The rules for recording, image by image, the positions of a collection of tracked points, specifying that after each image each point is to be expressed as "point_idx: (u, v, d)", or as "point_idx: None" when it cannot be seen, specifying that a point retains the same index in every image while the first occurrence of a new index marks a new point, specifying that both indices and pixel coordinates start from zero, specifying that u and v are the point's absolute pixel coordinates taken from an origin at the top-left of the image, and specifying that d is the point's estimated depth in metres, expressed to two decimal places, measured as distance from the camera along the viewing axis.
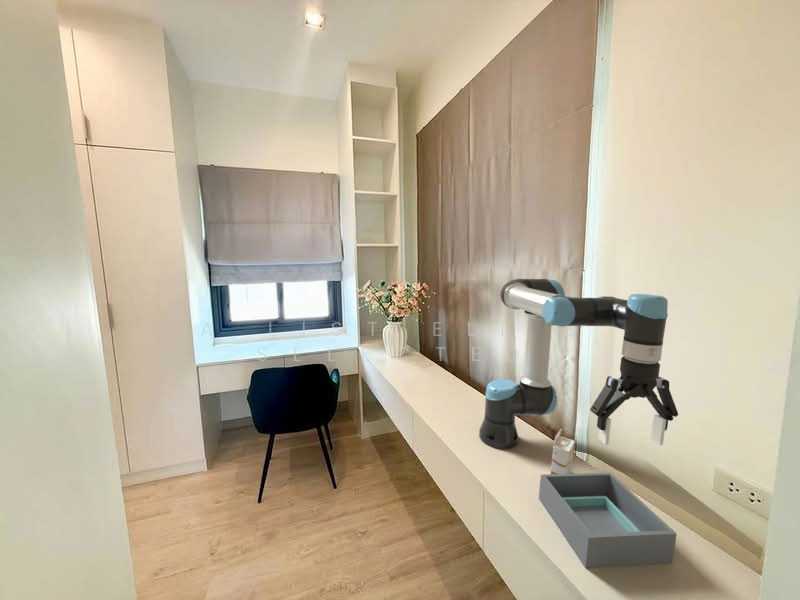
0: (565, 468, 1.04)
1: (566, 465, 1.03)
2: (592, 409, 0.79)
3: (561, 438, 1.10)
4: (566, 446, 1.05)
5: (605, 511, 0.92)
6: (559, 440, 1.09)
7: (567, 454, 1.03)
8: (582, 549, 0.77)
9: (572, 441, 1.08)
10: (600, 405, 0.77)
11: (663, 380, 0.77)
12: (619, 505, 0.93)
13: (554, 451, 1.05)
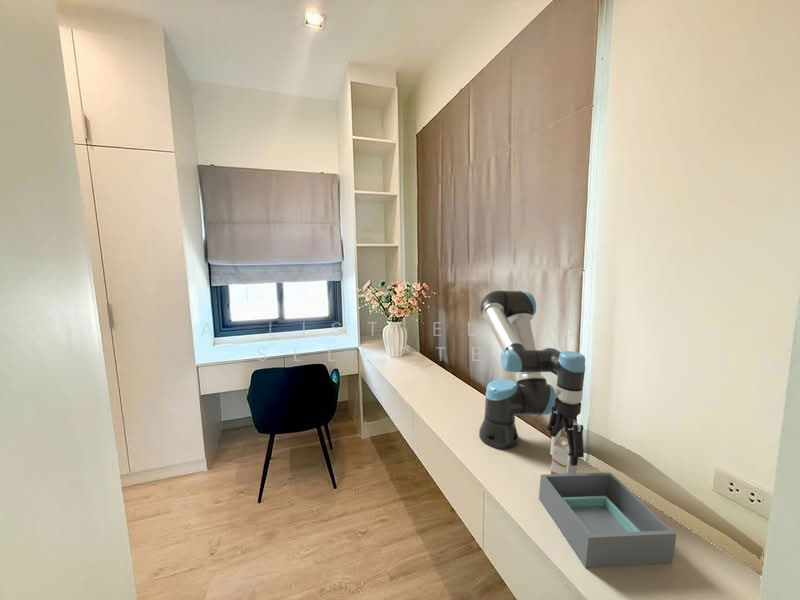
0: (565, 468, 1.03)
1: (566, 465, 1.03)
2: None
3: (561, 438, 1.10)
4: (566, 446, 1.05)
5: (605, 511, 0.92)
6: (559, 440, 1.09)
7: (567, 454, 1.03)
8: (582, 549, 0.77)
9: None
10: None
11: (575, 425, 1.00)
12: (619, 505, 0.93)
13: (554, 451, 1.05)
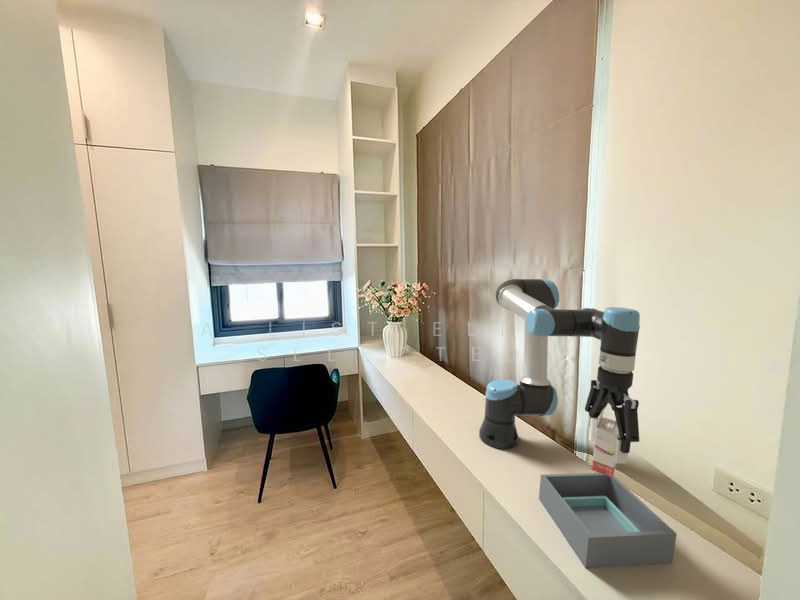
0: (613, 456, 0.80)
1: (614, 452, 0.80)
2: None
3: (604, 419, 0.87)
4: (613, 428, 0.82)
5: (605, 511, 0.92)
6: (602, 422, 0.86)
7: (616, 438, 0.80)
8: (582, 549, 0.77)
9: None
10: None
11: None
12: (619, 505, 0.93)
13: (597, 435, 0.82)
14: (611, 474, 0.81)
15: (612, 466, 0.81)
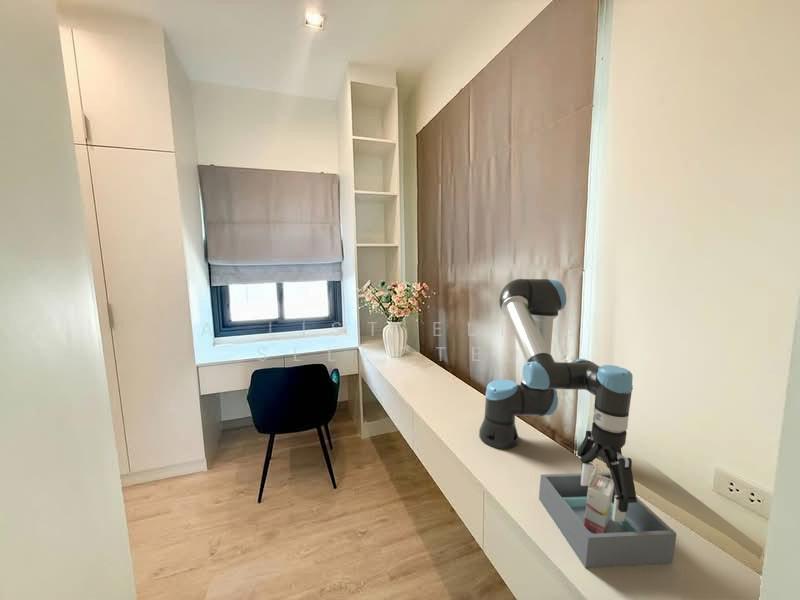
0: (603, 517, 0.83)
1: (605, 513, 0.83)
2: None
3: (597, 476, 0.89)
4: (605, 488, 0.84)
5: None
6: (595, 479, 0.88)
7: (606, 499, 0.82)
8: (582, 549, 0.77)
9: (611, 481, 0.87)
10: None
11: None
12: None
13: (589, 494, 0.85)
14: None
15: (603, 526, 0.83)
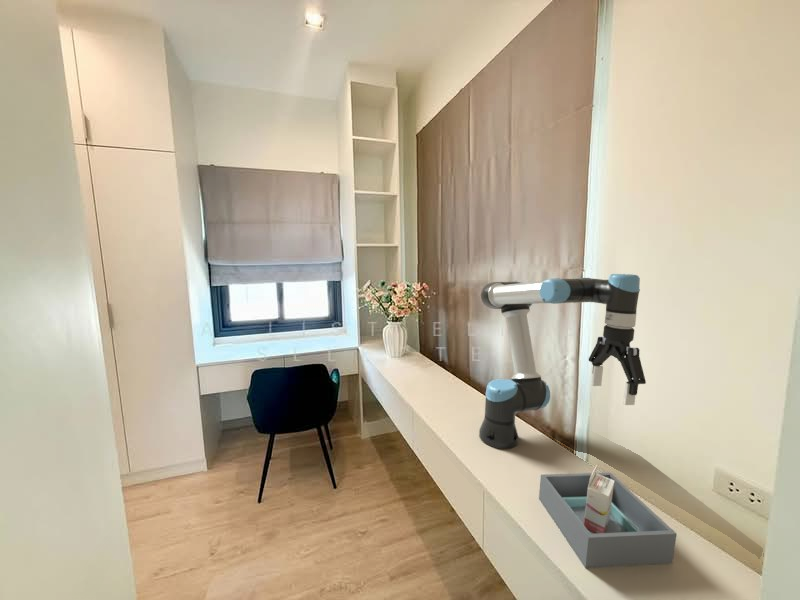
0: (603, 516, 0.83)
1: (605, 513, 0.83)
2: None
3: (597, 476, 0.89)
4: (605, 488, 0.84)
5: None
6: (595, 479, 0.88)
7: (606, 499, 0.82)
8: (582, 549, 0.77)
9: (611, 481, 0.87)
10: None
11: None
12: (619, 505, 0.93)
13: (589, 494, 0.85)
14: None
15: (603, 526, 0.83)
